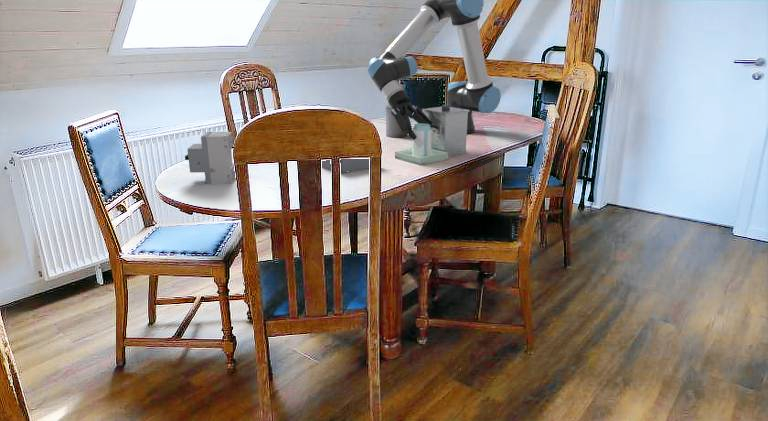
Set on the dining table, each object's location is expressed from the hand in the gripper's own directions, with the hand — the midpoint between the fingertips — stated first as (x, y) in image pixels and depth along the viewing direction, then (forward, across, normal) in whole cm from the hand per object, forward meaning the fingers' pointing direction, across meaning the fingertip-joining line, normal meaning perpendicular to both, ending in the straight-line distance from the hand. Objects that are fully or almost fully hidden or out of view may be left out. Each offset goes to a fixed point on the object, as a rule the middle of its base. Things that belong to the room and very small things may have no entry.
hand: (428, 143), depth 199 cm
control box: (+2, -14, -6) cm, 16 cm away
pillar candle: (-23, -29, -32) cm, 49 cm away
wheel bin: (-7, +26, -16) cm, 31 cm away
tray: (+2, 0, -7) cm, 7 cm away
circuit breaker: (-21, +68, -30) cm, 77 cm away
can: (+2, 0, -6) cm, 6 cm away
